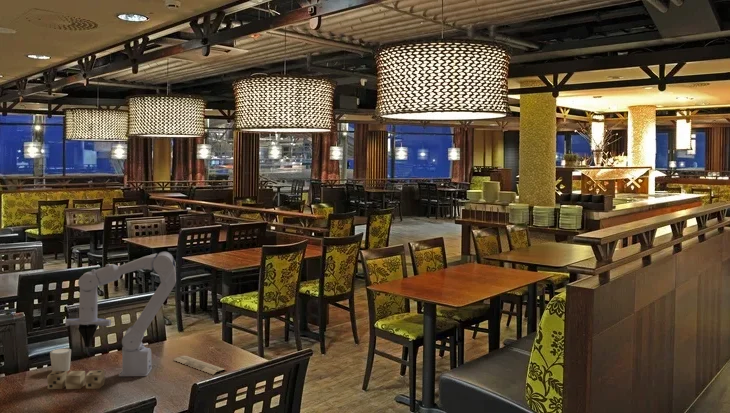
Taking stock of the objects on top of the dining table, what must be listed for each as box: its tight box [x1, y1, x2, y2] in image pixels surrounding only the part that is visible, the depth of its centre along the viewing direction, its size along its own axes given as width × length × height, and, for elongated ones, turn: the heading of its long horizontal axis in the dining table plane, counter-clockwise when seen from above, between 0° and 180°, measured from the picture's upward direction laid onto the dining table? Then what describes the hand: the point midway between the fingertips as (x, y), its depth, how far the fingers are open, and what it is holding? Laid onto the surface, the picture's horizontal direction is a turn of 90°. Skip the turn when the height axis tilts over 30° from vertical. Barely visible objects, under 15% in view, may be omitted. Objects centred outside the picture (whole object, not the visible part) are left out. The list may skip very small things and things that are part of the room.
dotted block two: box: [85, 369, 106, 389], centre depth 205 cm, size 4×5×5 cm
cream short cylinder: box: [49, 347, 72, 372], centre depth 219 cm, size 7×7×7 cm
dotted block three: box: [47, 371, 68, 390], centre depth 204 cm, size 4×5×5 cm
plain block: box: [65, 370, 86, 390], centre depth 204 cm, size 4×4×4 cm
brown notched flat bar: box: [173, 355, 226, 376], centre depth 226 cm, size 24×7×2 cm, turn 52°
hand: (88, 346), depth 214 cm, fingers closed
